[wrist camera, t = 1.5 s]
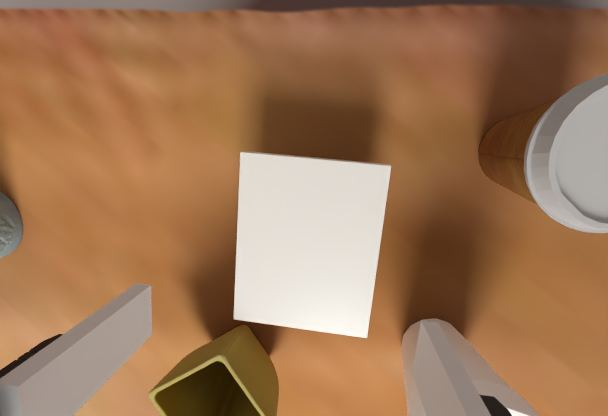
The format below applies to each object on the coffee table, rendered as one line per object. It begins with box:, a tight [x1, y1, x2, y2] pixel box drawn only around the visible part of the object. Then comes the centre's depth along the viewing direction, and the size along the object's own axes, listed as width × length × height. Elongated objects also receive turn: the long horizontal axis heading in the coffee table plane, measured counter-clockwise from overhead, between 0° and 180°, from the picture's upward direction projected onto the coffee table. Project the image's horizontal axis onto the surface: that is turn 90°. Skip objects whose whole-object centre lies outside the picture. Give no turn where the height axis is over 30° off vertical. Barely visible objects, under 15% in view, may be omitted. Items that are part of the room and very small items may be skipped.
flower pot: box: [148, 325, 279, 416], centre depth 32 cm, size 9×9×9 cm
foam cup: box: [401, 318, 539, 416], centre depth 27 cm, size 10×9×13 cm
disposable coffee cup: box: [479, 74, 608, 233], centre depth 23 cm, size 10×10×12 cm
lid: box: [234, 151, 391, 338], centre depth 27 cm, size 12×15×2 cm
